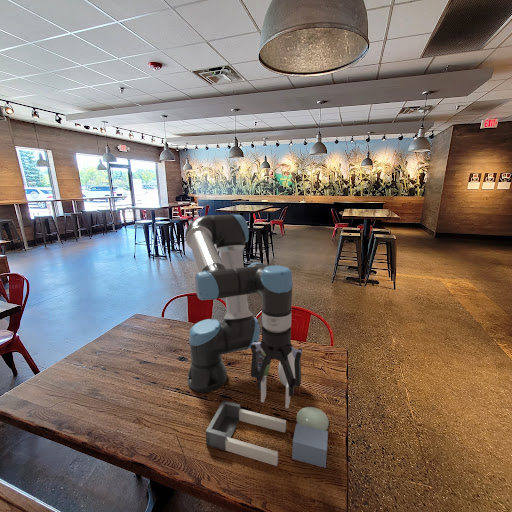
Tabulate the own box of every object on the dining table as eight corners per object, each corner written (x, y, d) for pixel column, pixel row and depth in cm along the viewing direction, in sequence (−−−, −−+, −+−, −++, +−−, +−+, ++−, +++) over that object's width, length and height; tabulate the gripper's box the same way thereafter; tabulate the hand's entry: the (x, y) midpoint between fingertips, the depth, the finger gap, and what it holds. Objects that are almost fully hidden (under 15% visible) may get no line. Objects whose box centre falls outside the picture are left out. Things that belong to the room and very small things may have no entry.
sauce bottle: (301, 381, 104) (302, 339, 99) (295, 395, 97) (296, 350, 93) (282, 375, 107) (282, 335, 103) (275, 388, 100) (275, 345, 96)
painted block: (292, 459, 74) (292, 441, 72) (295, 440, 79) (296, 423, 78) (325, 468, 71) (326, 450, 70) (326, 448, 77) (327, 431, 75)
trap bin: (206, 445, 78) (205, 431, 77) (223, 412, 89) (223, 400, 88) (225, 450, 76) (224, 436, 75) (240, 417, 87) (240, 404, 86)
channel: (225, 450, 76) (225, 440, 75) (240, 417, 87) (240, 408, 86) (276, 466, 72) (277, 455, 71) (285, 429, 83) (286, 420, 82)
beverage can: (253, 369, 111) (252, 343, 108) (270, 368, 111) (271, 342, 108) (254, 380, 105) (254, 353, 102) (273, 379, 105) (273, 352, 102)
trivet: (294, 430, 83) (294, 428, 82) (299, 406, 92) (299, 404, 92) (327, 438, 80) (327, 436, 79) (329, 412, 89) (329, 410, 89)
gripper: (236, 327, 68) (238, 403, 74) (312, 339, 63) (308, 420, 68) (246, 314, 75) (247, 385, 81) (315, 324, 70) (311, 399, 75)
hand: (275, 401), depth 74 cm, fingers open, 6 cm apart
